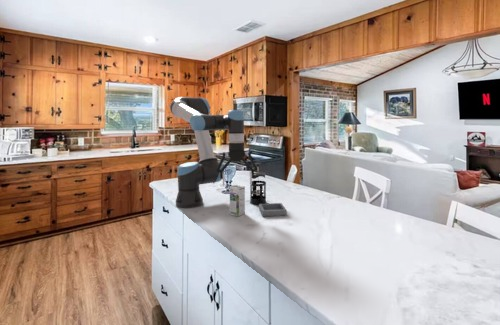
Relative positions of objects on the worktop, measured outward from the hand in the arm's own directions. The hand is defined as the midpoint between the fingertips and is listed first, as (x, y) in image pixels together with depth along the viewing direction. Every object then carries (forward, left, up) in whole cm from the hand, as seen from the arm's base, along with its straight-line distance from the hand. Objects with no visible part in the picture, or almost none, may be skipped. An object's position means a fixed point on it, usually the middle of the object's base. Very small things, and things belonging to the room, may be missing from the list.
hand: (237, 184), depth 142 cm
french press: (+13, +19, -15) cm, 28 cm away
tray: (+18, 0, -15) cm, 23 cm away
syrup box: (0, 0, -15) cm, 15 cm away
